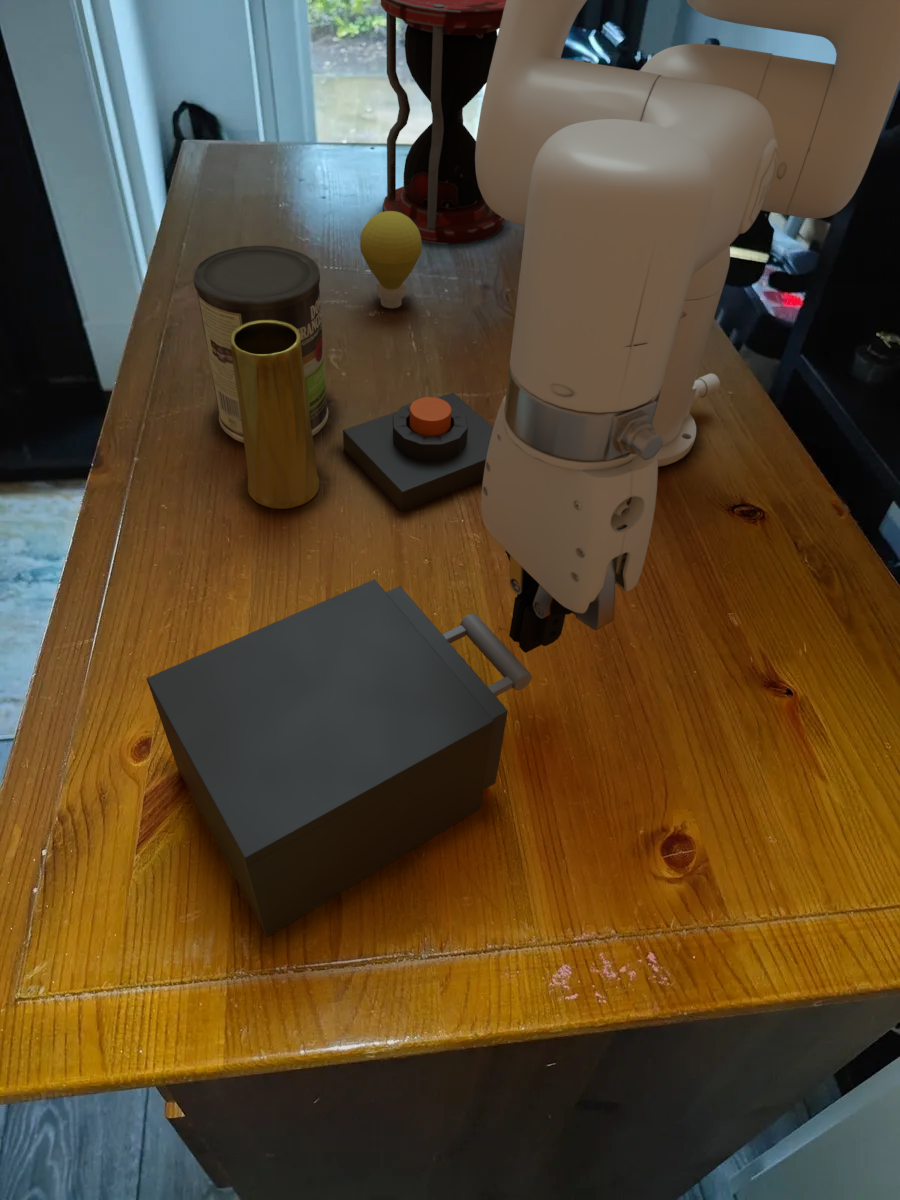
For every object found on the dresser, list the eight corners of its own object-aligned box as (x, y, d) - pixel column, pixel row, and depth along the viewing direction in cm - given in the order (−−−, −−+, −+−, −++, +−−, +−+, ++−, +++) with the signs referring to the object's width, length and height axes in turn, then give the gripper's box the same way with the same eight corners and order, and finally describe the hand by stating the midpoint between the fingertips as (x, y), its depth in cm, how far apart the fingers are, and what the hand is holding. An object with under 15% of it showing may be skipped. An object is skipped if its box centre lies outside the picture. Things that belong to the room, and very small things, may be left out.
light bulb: (351, 309, 94) (347, 218, 87) (377, 284, 98) (375, 195, 91) (406, 323, 93) (407, 232, 85) (429, 297, 97) (433, 208, 90)
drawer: (450, 638, 61) (456, 560, 55) (549, 751, 55) (567, 678, 49) (218, 751, 53) (198, 675, 48) (303, 897, 47) (290, 830, 42)
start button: (435, 409, 76) (436, 392, 74) (458, 429, 74) (459, 412, 72) (401, 421, 74) (401, 404, 73) (424, 442, 72) (424, 425, 71)
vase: (261, 518, 70) (238, 366, 59) (238, 475, 73) (212, 325, 63) (330, 498, 72) (319, 348, 62) (304, 458, 76) (290, 310, 65)
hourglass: (367, 235, 107) (362, -2, 89) (400, 187, 118) (401, -32, 100) (491, 253, 105) (512, 16, 87) (513, 203, 116) (536, -17, 98)
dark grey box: (376, 673, 59) (374, 578, 52) (480, 809, 53) (494, 720, 46) (178, 770, 53) (146, 677, 46) (267, 938, 47) (244, 858, 40)
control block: (452, 411, 82) (454, 375, 79) (514, 467, 76) (519, 430, 73) (343, 450, 77) (341, 412, 74) (402, 512, 71) (402, 474, 68)
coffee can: (342, 394, 83) (335, 253, 72) (309, 456, 76) (296, 310, 66) (242, 377, 84) (221, 236, 74) (200, 437, 77) (171, 291, 67)
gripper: (741, 458, 40) (653, 689, 53) (546, 317, 48) (512, 549, 62) (623, 511, 37) (562, 743, 50) (436, 352, 45) (426, 588, 59)
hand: (535, 636), depth 56 cm, fingers closed
